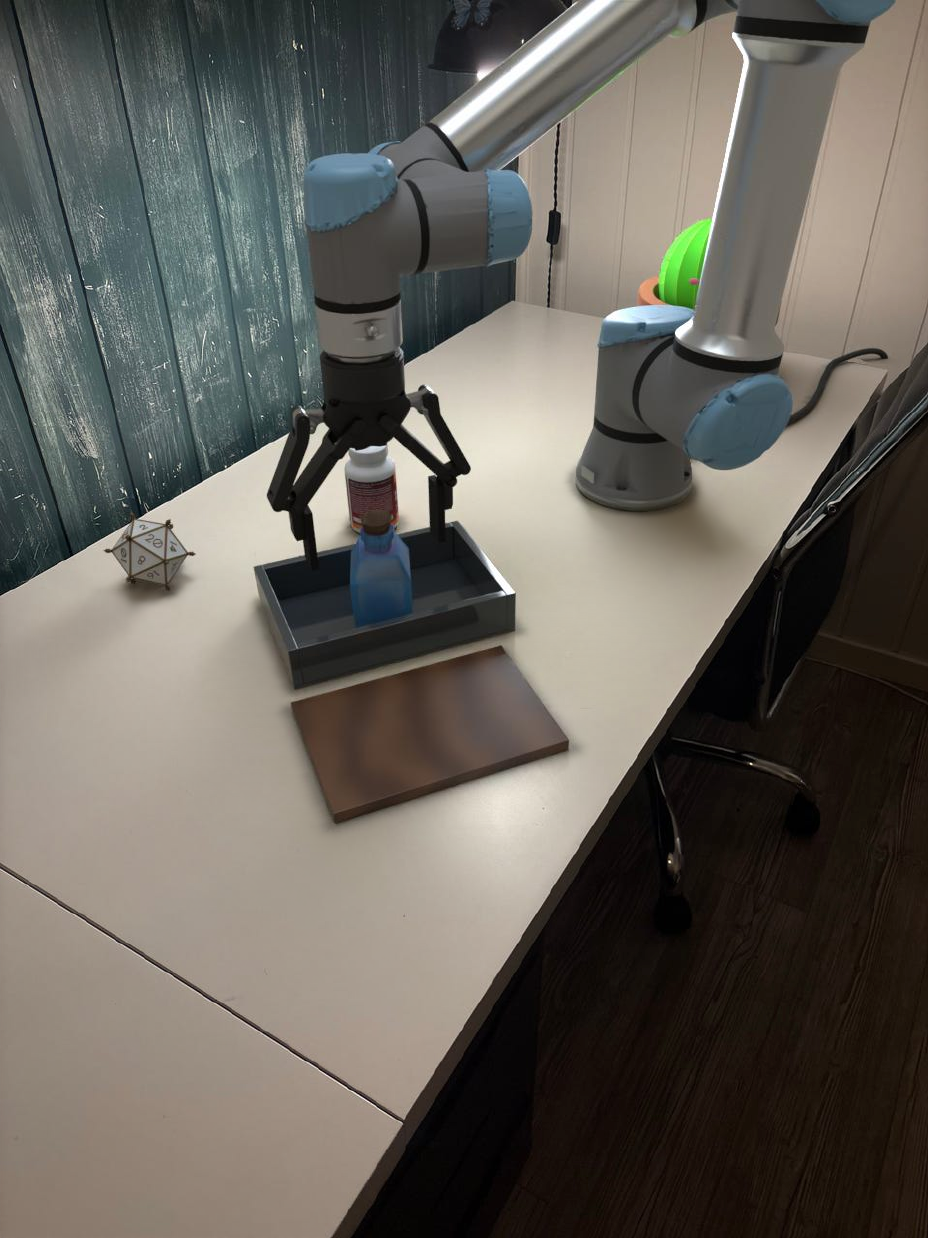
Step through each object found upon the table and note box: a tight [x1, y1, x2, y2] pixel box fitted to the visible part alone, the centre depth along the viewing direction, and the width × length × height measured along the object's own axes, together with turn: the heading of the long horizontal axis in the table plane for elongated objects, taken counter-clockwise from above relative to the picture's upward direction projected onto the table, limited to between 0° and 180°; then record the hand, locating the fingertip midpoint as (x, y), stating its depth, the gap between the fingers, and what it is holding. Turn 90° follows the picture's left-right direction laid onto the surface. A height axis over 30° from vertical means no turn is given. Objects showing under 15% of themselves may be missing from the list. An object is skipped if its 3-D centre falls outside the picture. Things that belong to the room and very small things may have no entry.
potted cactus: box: [636, 218, 782, 327], centre depth 145 cm, size 22×22×25 cm
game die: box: [102, 511, 197, 593], centre depth 104 cm, size 9×8×10 cm
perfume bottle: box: [350, 510, 413, 628], centre depth 96 cm, size 6×6×12 cm
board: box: [290, 644, 570, 824], centre depth 85 cm, size 22×15×1 cm
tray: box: [253, 520, 517, 690], centre depth 99 cm, size 24×16×5 cm, turn 112°
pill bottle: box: [344, 444, 400, 534], centre depth 112 cm, size 6×6×11 cm
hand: (376, 550), depth 95 cm, fingers open, 13 cm apart
